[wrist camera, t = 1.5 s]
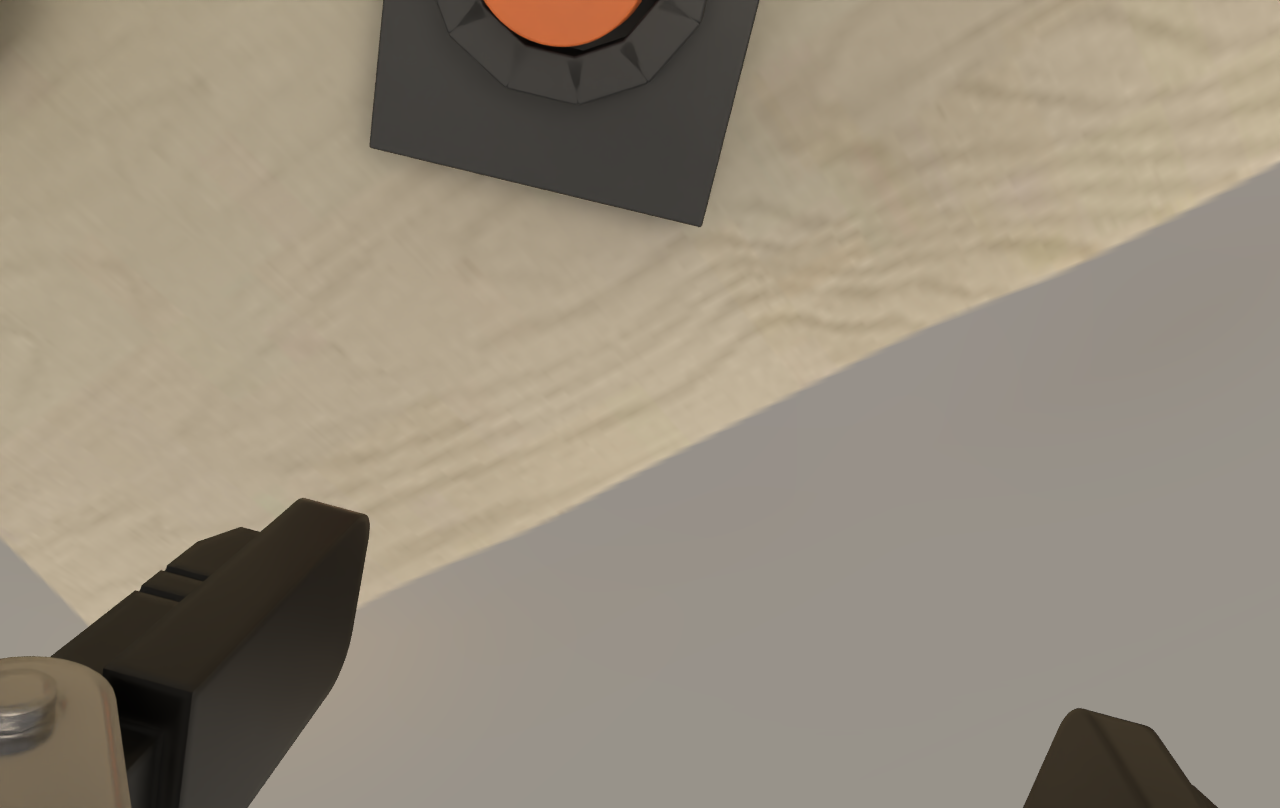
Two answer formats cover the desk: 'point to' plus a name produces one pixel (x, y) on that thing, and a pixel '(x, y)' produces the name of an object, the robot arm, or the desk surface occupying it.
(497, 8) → the button
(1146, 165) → the desk surface
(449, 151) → the button housing
